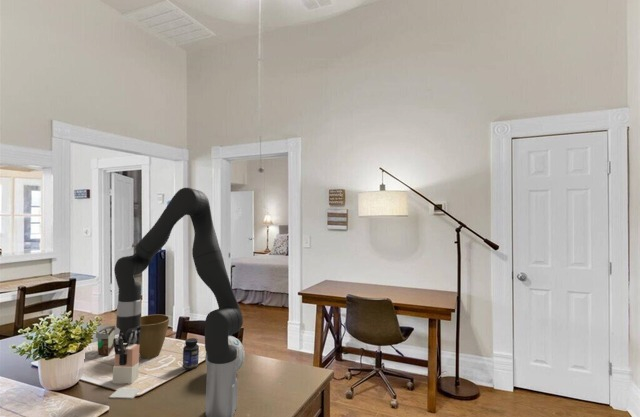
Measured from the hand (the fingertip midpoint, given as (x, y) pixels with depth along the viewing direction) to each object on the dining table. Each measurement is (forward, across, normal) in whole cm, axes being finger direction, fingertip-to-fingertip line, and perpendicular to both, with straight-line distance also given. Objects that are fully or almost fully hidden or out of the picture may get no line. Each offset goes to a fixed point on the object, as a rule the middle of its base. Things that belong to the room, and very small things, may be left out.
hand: (127, 361), depth 120 cm
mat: (+11, 0, 0) cm, 11 cm away
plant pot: (+12, +32, +8) cm, 35 cm away
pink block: (+1, 0, 0) cm, 1 cm away
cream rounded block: (+11, +9, +6) cm, 16 cm away
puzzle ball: (+11, +16, -30) cm, 36 cm away
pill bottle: (+11, +22, -14) cm, 29 cm away
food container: (+12, +34, +30) cm, 47 cm away
